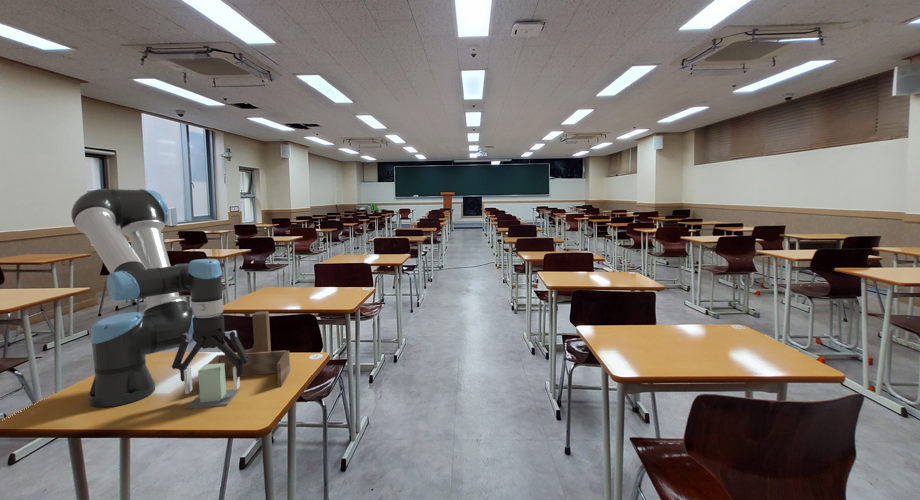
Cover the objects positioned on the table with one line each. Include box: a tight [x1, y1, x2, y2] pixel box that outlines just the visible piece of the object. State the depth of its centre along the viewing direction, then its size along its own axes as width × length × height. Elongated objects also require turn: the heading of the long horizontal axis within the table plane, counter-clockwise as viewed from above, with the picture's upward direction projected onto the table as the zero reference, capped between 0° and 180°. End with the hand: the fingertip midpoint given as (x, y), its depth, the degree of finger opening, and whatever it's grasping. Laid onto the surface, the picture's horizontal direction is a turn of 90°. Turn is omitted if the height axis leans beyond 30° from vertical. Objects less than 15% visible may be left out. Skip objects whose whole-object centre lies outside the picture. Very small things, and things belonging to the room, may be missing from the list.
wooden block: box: [244, 310, 272, 353], centre depth 150 cm, size 9×4×18 cm, turn 103°
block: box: [197, 363, 227, 402], centre depth 122 cm, size 5×5×9 cm
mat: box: [186, 388, 239, 410], centre depth 123 cm, size 10×10×1 cm
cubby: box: [207, 350, 291, 388], centre depth 135 cm, size 22×13×7 cm, turn 100°
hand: (213, 389), depth 122 cm, fingers open, 12 cm apart
